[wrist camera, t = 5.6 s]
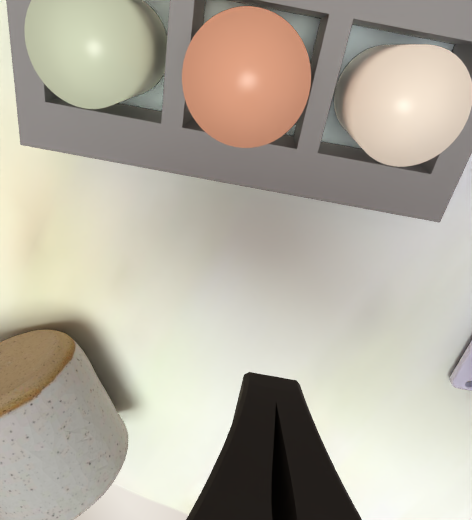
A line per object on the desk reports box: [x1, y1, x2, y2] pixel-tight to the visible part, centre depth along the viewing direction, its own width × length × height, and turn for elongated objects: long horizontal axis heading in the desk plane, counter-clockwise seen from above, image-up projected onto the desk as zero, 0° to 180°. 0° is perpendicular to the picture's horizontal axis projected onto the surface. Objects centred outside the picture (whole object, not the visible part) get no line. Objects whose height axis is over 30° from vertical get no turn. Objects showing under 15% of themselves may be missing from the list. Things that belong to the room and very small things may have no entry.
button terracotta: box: [182, 6, 311, 148], centre depth 13 cm, size 4×4×4 cm
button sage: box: [24, 0, 167, 109], centre depth 14 cm, size 4×4×4 cm
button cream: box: [334, 44, 472, 167], centre depth 14 cm, size 4×4×4 cm
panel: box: [6, 0, 472, 222], centre depth 15 cm, size 17×8×2 cm, turn 81°
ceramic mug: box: [0, 330, 128, 520], centre depth 22 cm, size 11×8×8 cm
